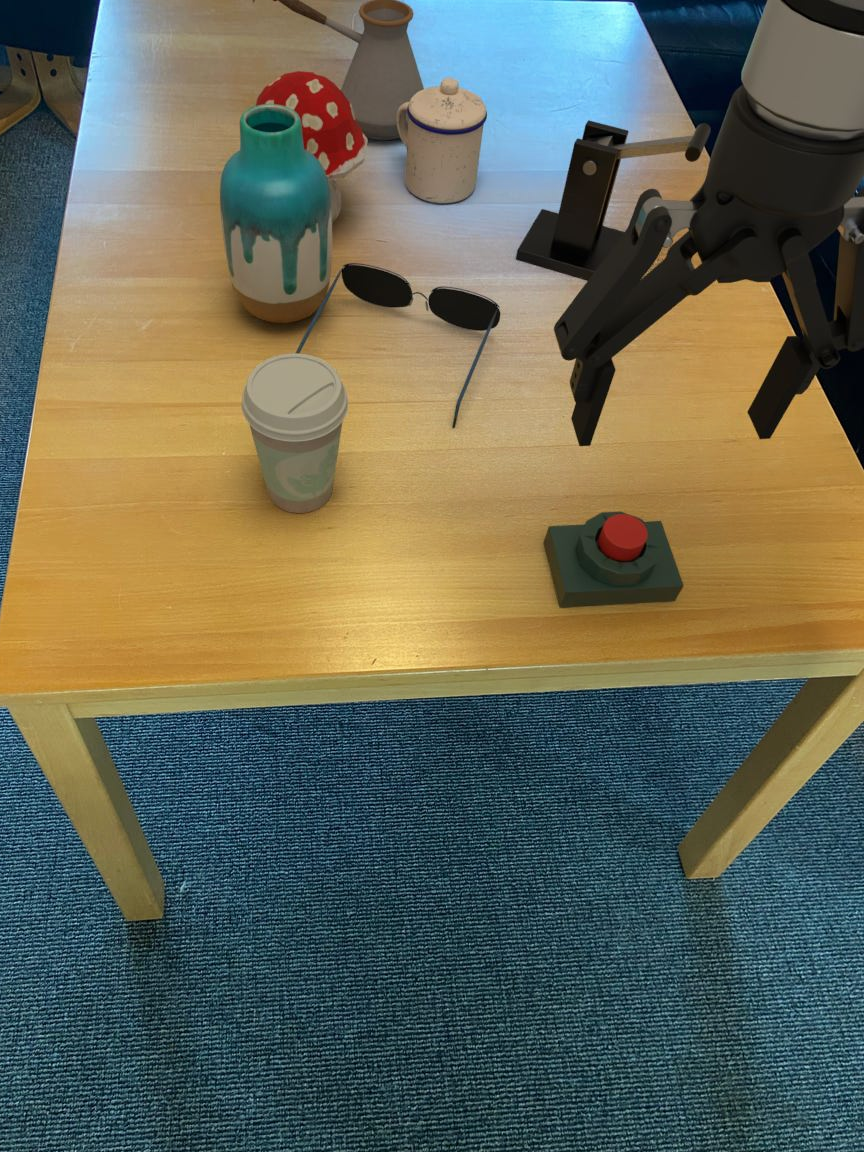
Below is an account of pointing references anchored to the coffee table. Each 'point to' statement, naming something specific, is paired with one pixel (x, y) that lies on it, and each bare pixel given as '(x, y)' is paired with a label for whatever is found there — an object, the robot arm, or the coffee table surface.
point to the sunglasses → (398, 293)
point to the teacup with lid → (442, 141)
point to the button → (622, 537)
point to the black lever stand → (579, 210)
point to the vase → (276, 218)
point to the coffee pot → (376, 64)
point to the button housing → (609, 567)
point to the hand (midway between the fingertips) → (670, 429)
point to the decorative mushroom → (322, 124)
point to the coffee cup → (296, 427)
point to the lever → (662, 145)
